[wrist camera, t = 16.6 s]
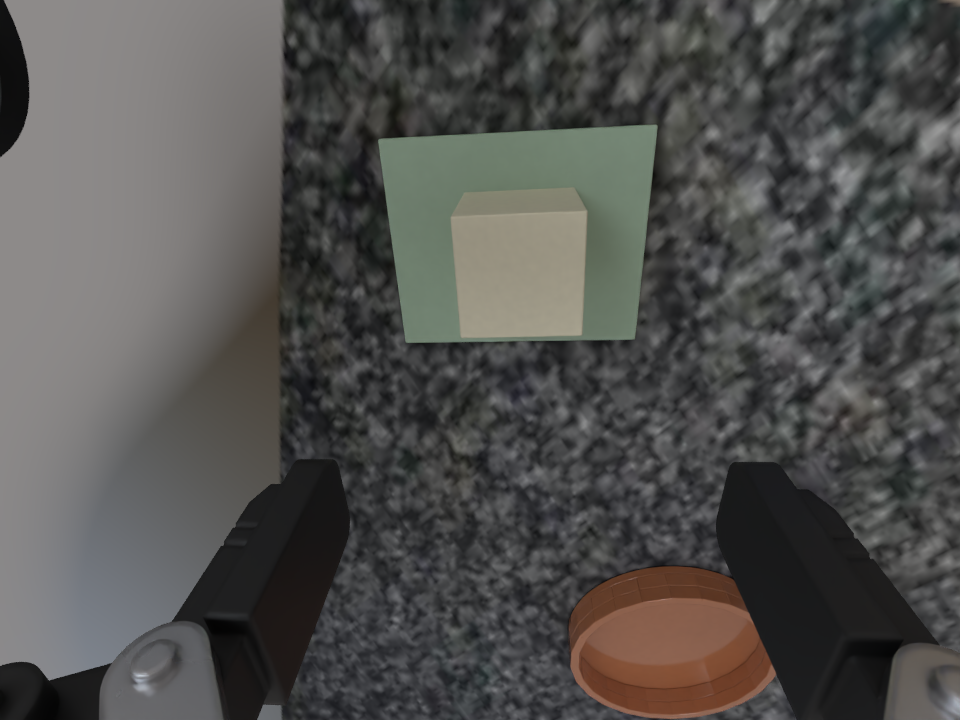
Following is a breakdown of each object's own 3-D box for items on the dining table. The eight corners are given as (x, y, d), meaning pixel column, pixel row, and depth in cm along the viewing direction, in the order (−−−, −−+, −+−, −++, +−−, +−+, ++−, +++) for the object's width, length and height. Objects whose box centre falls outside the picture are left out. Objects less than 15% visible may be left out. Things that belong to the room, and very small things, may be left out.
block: (471, 295, 25) (460, 338, 21) (463, 192, 23) (450, 216, 18) (571, 292, 24) (582, 336, 20) (574, 186, 22) (588, 210, 18)
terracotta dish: (565, 680, 41) (567, 713, 39) (571, 563, 34) (574, 595, 32) (744, 688, 40) (757, 723, 38) (786, 568, 33) (805, 602, 31)
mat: (407, 339, 27) (405, 343, 26) (380, 138, 22) (377, 139, 22) (633, 335, 26) (635, 339, 25) (655, 124, 21) (658, 125, 21)
